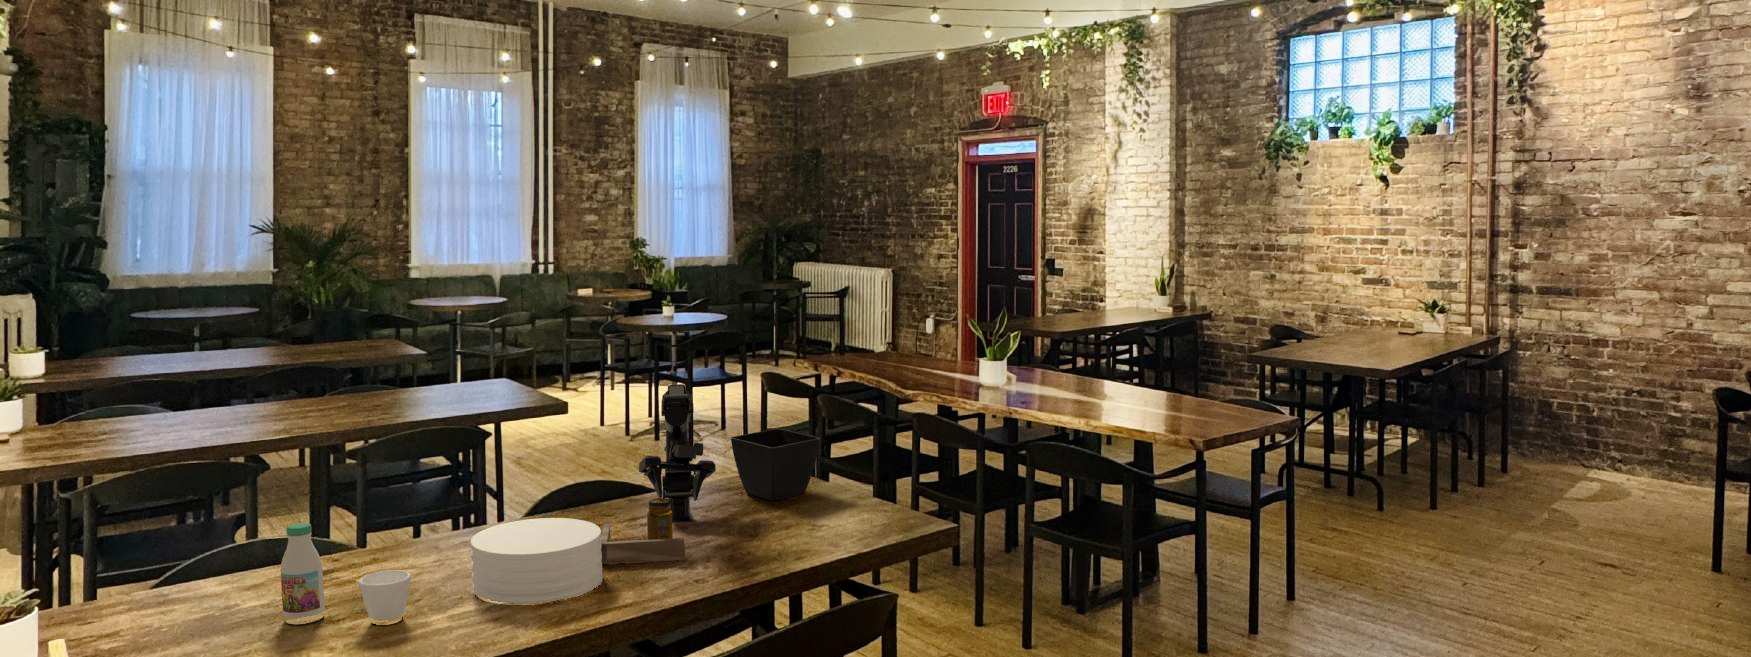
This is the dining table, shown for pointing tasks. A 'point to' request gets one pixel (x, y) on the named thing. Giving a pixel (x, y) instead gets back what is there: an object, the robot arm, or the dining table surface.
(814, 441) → the flower pot
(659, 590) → the dining table surface
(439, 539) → the dining table surface
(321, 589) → the milk bottle
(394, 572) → the cup
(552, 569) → the plate stack
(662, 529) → the condiment
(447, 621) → the dining table surface
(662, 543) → the corner arena
